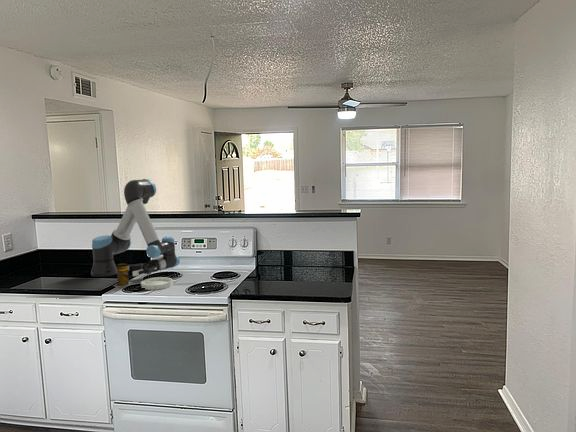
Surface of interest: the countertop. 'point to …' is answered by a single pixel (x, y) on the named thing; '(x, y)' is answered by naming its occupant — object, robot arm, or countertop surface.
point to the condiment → (122, 275)
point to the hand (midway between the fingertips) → (125, 272)
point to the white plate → (157, 283)
